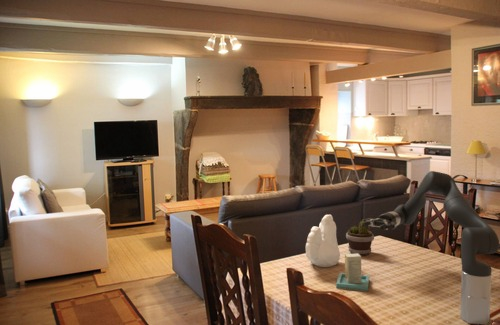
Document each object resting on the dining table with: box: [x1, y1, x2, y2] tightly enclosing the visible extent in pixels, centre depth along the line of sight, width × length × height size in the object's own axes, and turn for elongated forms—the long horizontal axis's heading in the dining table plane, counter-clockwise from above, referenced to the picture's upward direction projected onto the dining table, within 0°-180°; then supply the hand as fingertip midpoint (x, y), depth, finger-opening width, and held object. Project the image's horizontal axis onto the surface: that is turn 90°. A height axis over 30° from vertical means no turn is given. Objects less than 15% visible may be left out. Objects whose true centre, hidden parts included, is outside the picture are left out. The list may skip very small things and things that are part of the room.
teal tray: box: [335, 272, 370, 292], centre depth 184 cm, size 13×13×2 cm
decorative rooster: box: [305, 214, 341, 268], centre depth 207 cm, size 25×16×25 cm, turn 130°
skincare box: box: [344, 253, 362, 284], centre depth 184 cm, size 6×4×12 cm
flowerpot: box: [345, 218, 375, 257], centre depth 226 cm, size 14×15×20 cm
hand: (371, 226), depth 188 cm, fingers open, 8 cm apart
